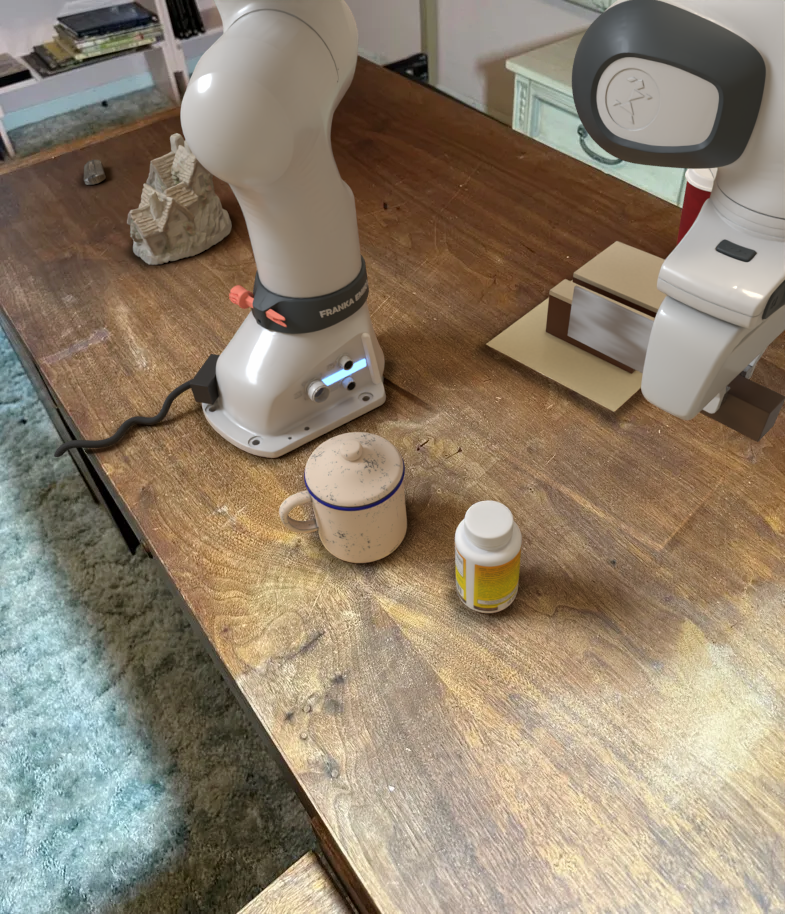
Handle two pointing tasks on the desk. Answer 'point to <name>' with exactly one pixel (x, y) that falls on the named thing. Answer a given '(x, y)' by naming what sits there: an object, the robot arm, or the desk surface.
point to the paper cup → (695, 196)
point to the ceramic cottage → (177, 209)
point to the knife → (628, 342)
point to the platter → (565, 361)
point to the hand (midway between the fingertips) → (721, 392)
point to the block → (93, 172)
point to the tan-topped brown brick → (561, 316)
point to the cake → (624, 277)
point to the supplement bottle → (487, 557)
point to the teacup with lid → (353, 497)
